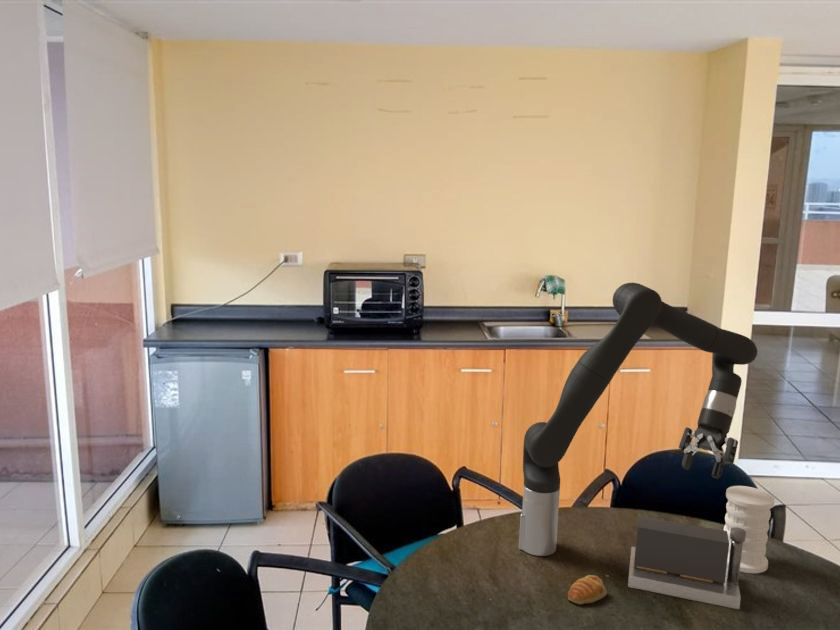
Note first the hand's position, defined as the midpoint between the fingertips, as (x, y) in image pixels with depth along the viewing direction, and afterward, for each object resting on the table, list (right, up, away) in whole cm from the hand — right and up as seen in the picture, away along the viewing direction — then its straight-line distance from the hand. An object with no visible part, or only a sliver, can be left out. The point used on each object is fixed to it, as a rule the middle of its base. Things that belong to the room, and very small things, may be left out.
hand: (699, 473), depth 165 cm
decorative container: (+12, -24, +4) cm, 27 cm away
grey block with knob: (-6, -21, -7) cm, 23 cm away
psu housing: (-7, -25, -6) cm, 26 cm away
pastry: (-31, -26, -12) cm, 42 cm away
